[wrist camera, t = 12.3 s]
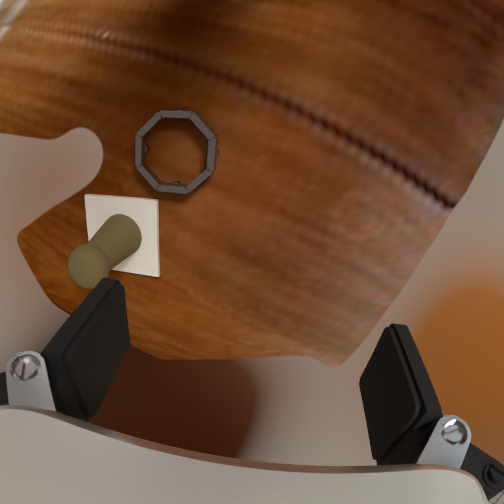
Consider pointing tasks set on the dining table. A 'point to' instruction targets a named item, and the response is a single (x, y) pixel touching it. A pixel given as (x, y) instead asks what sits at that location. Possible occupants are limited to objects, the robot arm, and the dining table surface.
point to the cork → (104, 251)
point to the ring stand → (142, 148)
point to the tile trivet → (145, 218)
